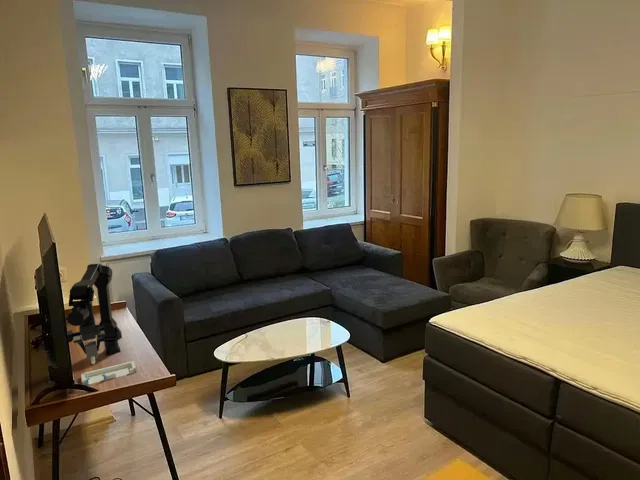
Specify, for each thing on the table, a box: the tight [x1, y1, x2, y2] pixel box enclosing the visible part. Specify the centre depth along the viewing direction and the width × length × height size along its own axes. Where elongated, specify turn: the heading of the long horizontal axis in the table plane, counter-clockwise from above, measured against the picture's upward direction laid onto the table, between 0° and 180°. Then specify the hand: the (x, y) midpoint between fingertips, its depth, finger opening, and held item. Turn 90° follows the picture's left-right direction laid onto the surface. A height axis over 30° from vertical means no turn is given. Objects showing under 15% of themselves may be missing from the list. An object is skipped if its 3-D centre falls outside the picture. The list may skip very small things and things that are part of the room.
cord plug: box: [84, 340, 99, 365], centre depth 181 cm, size 10×4×6 cm, turn 28°
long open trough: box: [80, 360, 137, 386], centre depth 188 cm, size 8×20×3 cm, turn 118°
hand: (91, 352), depth 184 cm, fingers closed on cord plug, 4 cm apart
